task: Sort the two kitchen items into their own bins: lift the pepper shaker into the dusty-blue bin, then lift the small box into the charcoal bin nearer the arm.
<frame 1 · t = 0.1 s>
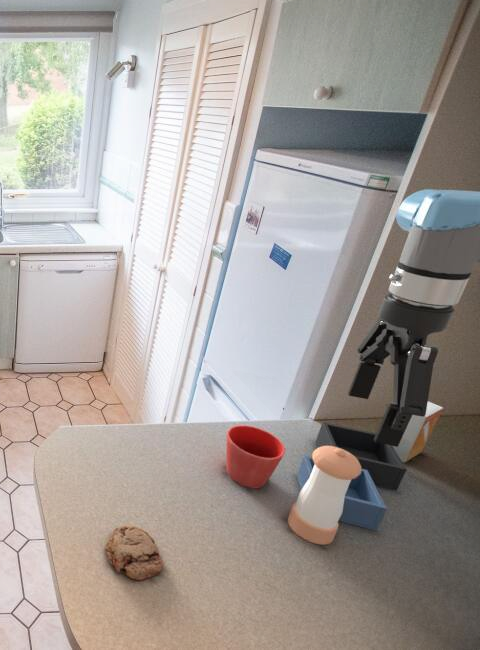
hand: (370, 418, 75), 28 cm above the countertop, tool pointing down, fingers open, 13 cm apart
small box: (396, 450, 108), on the countertop
flower pot: (245, 476, 101), on the countertop
pepper shaker: (309, 529, 88), on the countertop
cookie: (131, 555, 83), on the countertop
blue bin: (333, 501, 94), on the countertop
charcoal bin: (353, 464, 104), on the countertop
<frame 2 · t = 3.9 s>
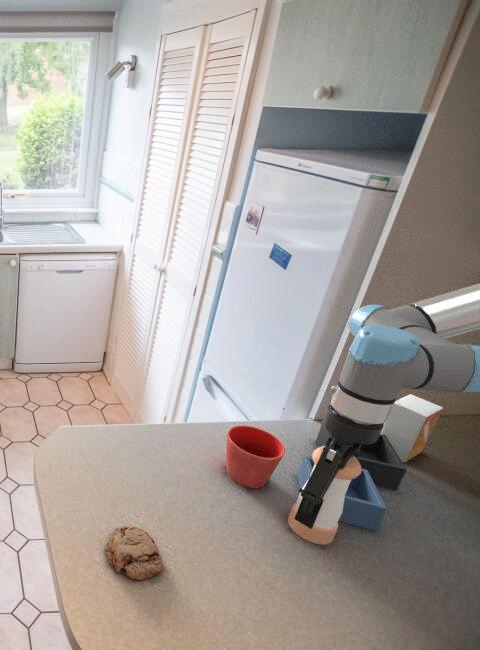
hand: (318, 505, 86), 6 cm above the countertop, tool pointing down, fingers open, 13 cm apart
nothing on the countertop moved.
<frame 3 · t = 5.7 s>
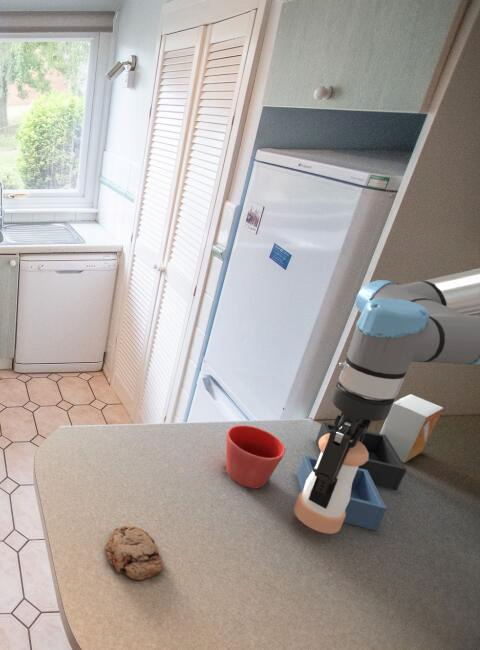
hand: (325, 493, 84), 9 cm above the countertop, tool pointing down, fingers closed on pepper shaker, 7 cm apart
pepper shaker: (316, 518, 87), point 3 cm above the countertop, touching gripper
everything else where it was.
when the fingers open (7 cm above the countertop, at t = 12.1 s): pepper shaker stays where it is, resting on blue bin.
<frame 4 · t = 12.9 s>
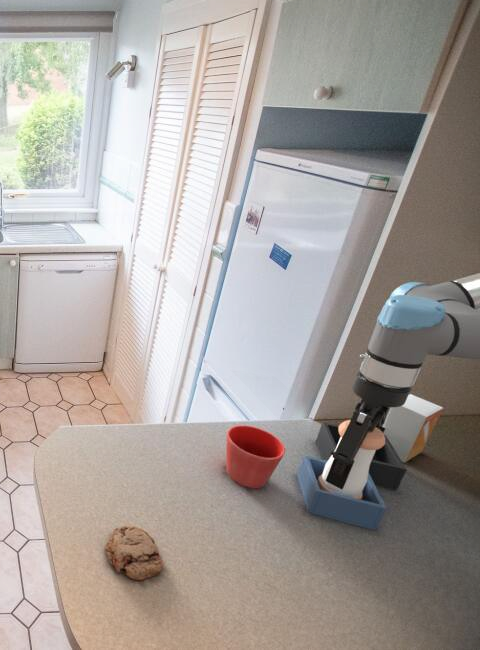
hand: (346, 469, 91), 9 cm above the countertop, tool pointing down, fingers open, 13 cm apart
pepper shaker: (334, 499, 94), point 1 cm above the countertop, touching blue bin
everything else where it was.
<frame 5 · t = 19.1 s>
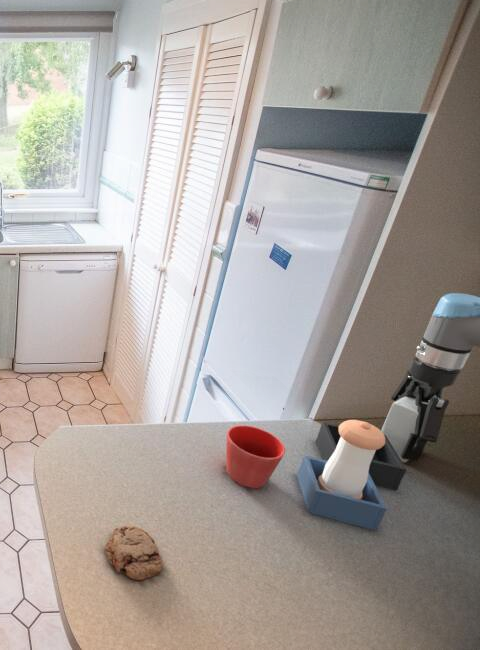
hand: (399, 444, 107), 2 cm above the countertop, tool pointing down, fingers closed on small box, 10 cm apart
small box: (397, 450, 108), on the countertop, touching gripper
everything else where it was.
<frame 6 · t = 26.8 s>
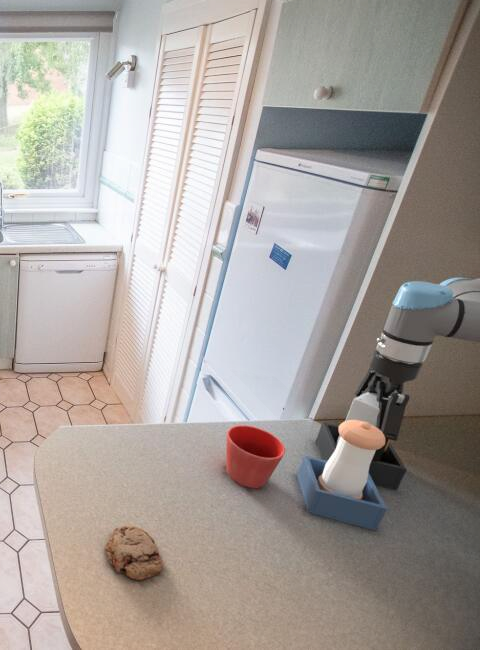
hand: (362, 443, 101), 6 cm above the countertop, tool pointing down, fingers closed on small box, 10 cm apart
small box: (359, 449, 102), point 4 cm above the countertop, touching gripper
everything else where it was.
when the fingers open (6 cm above the countertop, at t = 32.2 s): small box drops 4 cm, resting on charcoal bin.
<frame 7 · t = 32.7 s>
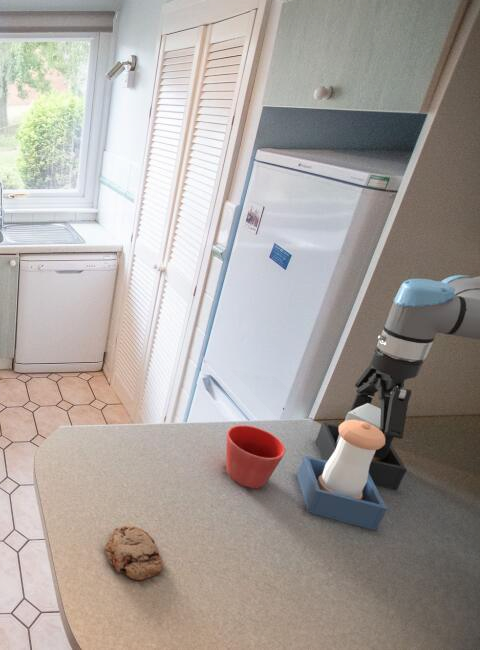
hand: (364, 437, 101), 8 cm above the countertop, tool pointing down, fingers open, 13 cm apart
small box: (354, 462, 104), point 1 cm above the countertop, touching charcoal bin
everything else where it was.
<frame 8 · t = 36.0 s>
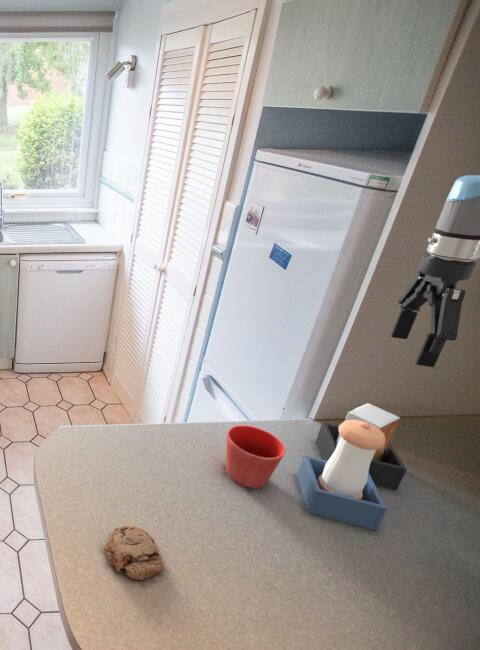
hand: (410, 350, 98), 27 cm above the countertop, tool pointing down, fingers open, 13 cm apart
nothing on the countertop moved.
at the end: pepper shaker inside the target area in the blue bin (0.1 cm from its centre), point 0.6 cm above the blue bin's base; small box inside the target area in the charcoal bin (0.0 cm from its centre), point 0.6 cm above the charcoal bin's base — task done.
